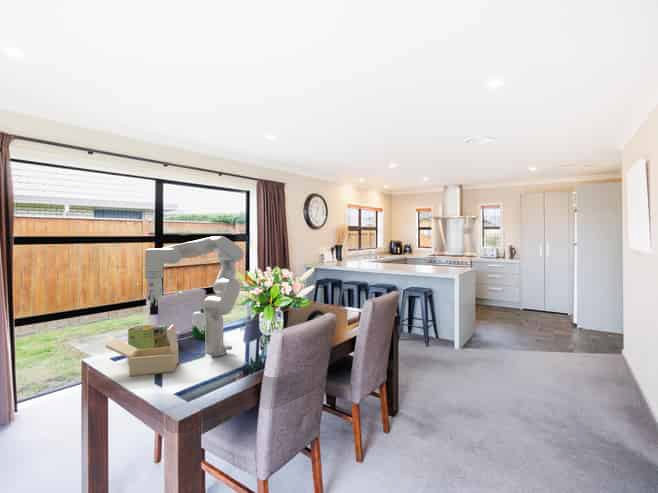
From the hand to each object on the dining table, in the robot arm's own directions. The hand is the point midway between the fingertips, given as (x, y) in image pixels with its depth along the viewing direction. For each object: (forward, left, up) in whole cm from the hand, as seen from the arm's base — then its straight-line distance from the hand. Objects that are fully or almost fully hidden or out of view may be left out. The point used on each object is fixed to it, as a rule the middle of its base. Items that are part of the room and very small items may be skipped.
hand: (154, 314), depth 162 cm
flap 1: (+8, 0, -18) cm, 20 cm away
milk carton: (-15, -57, -28) cm, 65 cm away
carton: (0, 0, -26) cm, 26 cm away
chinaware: (+3, -40, -26) cm, 48 cm away
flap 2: (-9, 0, -18) cm, 20 cm away
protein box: (+8, -22, -26) cm, 35 cm away
